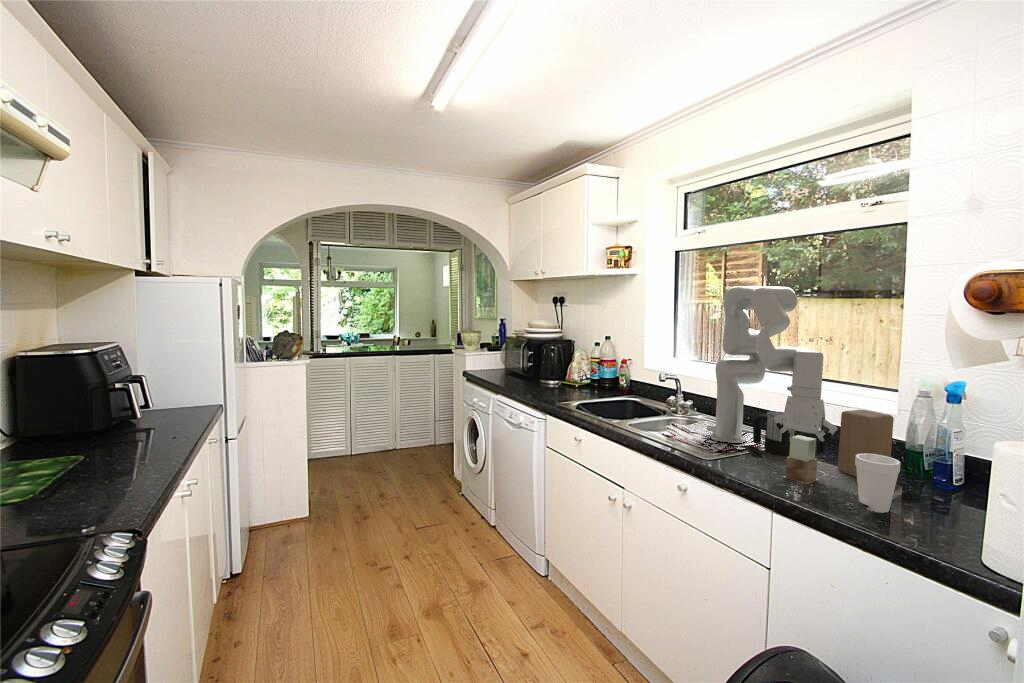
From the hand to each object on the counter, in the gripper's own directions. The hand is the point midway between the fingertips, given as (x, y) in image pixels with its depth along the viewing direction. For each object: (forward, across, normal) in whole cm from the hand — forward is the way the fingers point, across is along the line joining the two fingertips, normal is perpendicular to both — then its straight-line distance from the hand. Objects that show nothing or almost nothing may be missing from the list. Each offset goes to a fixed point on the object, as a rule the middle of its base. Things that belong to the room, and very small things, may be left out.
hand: (802, 449), depth 151 cm
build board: (+10, -2, +2) cm, 10 cm away
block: (+10, +9, +21) cm, 25 cm away
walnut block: (+8, 0, 0) cm, 8 cm away
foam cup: (+10, +20, -4) cm, 23 cm away
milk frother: (+10, -18, +18) cm, 27 cm away
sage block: (+2, 0, 0) cm, 2 cm away
